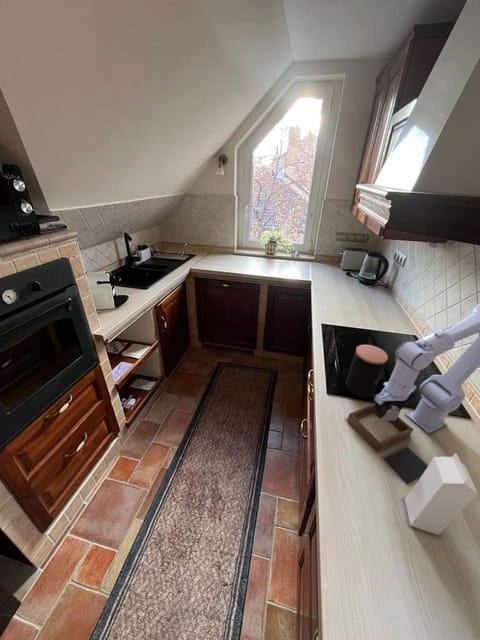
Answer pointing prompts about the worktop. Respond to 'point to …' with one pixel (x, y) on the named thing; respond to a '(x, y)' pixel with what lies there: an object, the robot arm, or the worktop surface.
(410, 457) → the mat
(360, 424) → the brown wooden tray
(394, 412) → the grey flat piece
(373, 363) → the coffee jar
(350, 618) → the worktop surface
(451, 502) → the milk
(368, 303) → the worktop surface
